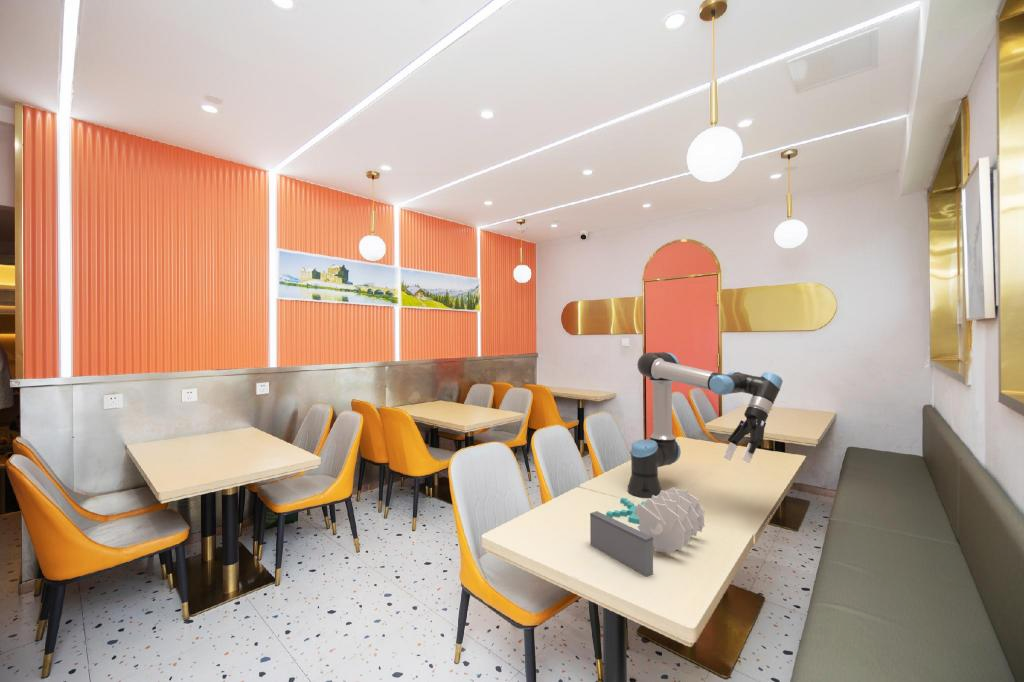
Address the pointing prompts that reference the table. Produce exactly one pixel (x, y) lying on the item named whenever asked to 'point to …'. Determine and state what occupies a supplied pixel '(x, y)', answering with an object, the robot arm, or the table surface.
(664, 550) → the spiral staircase
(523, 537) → the table surface
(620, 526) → the slate board
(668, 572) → the table surface
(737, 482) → the table surface
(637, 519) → the alien figure
